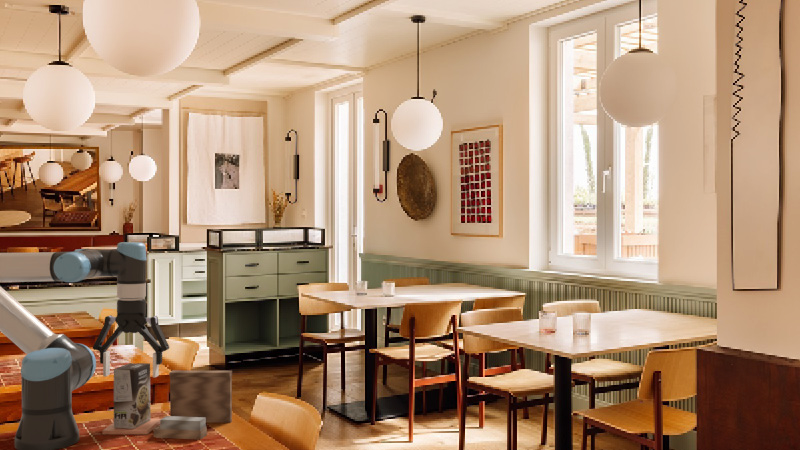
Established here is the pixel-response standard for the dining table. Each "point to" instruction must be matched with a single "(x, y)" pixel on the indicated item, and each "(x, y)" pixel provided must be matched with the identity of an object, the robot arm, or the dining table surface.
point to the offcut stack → (181, 427)
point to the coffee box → (131, 395)
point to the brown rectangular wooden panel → (201, 394)
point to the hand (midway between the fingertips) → (131, 376)
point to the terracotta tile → (139, 430)
